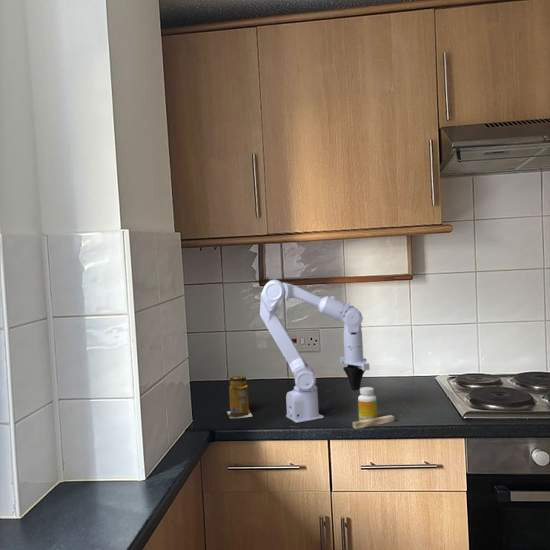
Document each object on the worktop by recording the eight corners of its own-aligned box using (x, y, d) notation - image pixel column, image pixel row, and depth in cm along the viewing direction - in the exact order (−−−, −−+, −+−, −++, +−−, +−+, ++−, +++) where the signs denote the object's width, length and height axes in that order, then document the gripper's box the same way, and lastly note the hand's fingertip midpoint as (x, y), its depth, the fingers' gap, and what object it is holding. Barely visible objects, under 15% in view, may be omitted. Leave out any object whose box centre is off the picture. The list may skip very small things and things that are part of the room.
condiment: (248, 409, 189) (246, 374, 189) (252, 416, 181) (250, 379, 181) (227, 412, 188) (224, 376, 188) (229, 419, 180) (227, 381, 179)
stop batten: (356, 428, 163) (355, 423, 163) (352, 427, 165) (352, 422, 165) (394, 421, 168) (394, 416, 168) (391, 419, 170) (390, 414, 170)
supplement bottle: (377, 423, 167) (375, 390, 167) (358, 423, 168) (357, 390, 168) (377, 418, 172) (376, 386, 172) (359, 418, 173) (358, 386, 173)
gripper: (377, 347, 170) (379, 392, 171) (352, 341, 184) (354, 383, 184) (356, 350, 168) (359, 396, 168) (333, 344, 181) (335, 386, 182)
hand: (355, 389), depth 176 cm, fingers closed
